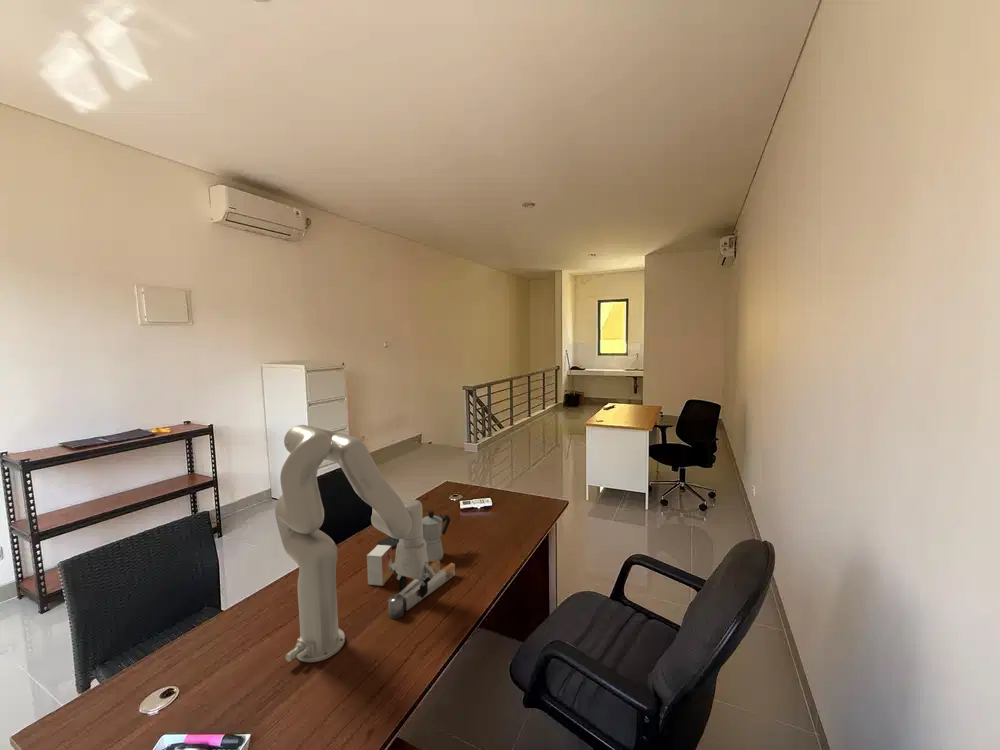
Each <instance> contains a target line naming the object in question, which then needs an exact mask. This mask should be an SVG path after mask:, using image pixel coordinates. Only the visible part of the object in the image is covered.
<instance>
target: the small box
mask: <svg viewBox="0 0 1000 750" xmlns="http://www.w3.org/2000/svg"><path fill="white" fill-rule="evenodd" d="M392 563H393V549H392V546H387V545H378V544H377V545H376V546H375V547H374V548H373V549H372V550H371V551H369V553H367V554H366V564H367V566H366V567H367V584H368V585H370V586H384V585H385V583H386V582H387V581H388V580H389V579H390V578H391V577H392V575H394V570H393V569H392V568H391V564H392Z"/></svg>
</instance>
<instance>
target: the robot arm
mask: <svg viewBox="0 0 1000 750" xmlns="http://www.w3.org/2000/svg"><path fill="white" fill-rule="evenodd" d="M283 443H284V447H285V450H287V452H288V453H289V455H288V456H287V458H286V460H285V462H283V465H282V467H281V471H280V476H279V477H280V487H281V493H282V494H281V495H279V498H278V499H277V501H276V504H275V508H274V514H275V520H276V523H277V529H278V532H279V535H280V538H281V542H282V546H283V550H284V551H285V553H286V554H287V555H288V557H290V558H291V559H292V560H293V561H294V562H295V564H297V565H298V569H299V570H298V577H297V602H298V603H297V604H298V616H299V617H298V618H299V619H298V620H299V632H300V633H299V634H300V636H299V637H298V638H297V640H296V644H295V647H294V648H293V649H291V650H290V651H289V652H288V653H285V656H284V657H285V661H287V662H292V660H293V659H295V658H297V660H299V661H300V662H304V663H317V662H321V661H324V660H326V659H329V658H331V657H333V656H334V655H336V654H337V653H338V652H339V651H340V650H341V649H342V647H344V644H345V641H346V634H345V632H344V631H343V630H342V629H341V628H339V619H338V618H339V617H338V599H337V580H336V579H337V578H336V571H337V570H336V568H337V561H338V548H337V544H336V542H335V541H334V540H333V538H331V537H330V536H329V535H328V534H326V532H324V531H322V530H320V528H321V526H322V525H323V523H324V520H325V508H324V505H323V501H322V497H321V492H320V489H319V483H318V477H317V476H318V471H319V468H320V466H321V464H322V463H323V462H324V461H330V462H333V463H336V464H338V465H339V466H340V469H341V470H342V472H343V473H344V475H345V477H346V479H347V480H348V482H349V484H350V485H351V487H352V489H353V491H354V492H355V494H357V496H358V497H359V498H361V500H362V501H363V502H365V504H367V505H369V506H370V507H371V508H372V509H373V510H374V511H373V512H372V514H371V516H370V522H371V524H372V526H373V527H374V528H375V529H376V530H378V531H379V532H381V533H383V534H385V535H387V536H389V537H392V538H394V539H399V543H398V544H397V547H396V548H395V558H394V562H392V564H391V568H392V570H393V574H394V575H395V576H396V579H397V581H398V590H399V591H398V593H400V592H401V591H402V590H403V589H404V588H405V587H406V586H408V584H407V578H409V579H413V580H414V579H419V580H420V583H421V585H420V597H421V598H423V597H424V596H425V595H426V594H427V592H428V582H429V581H430V580H431V579H432V578H433V576H434V575H435V572H434V571H433V570H432V569H431V568H430V567H429V566H430V565H429V562H428V556H427V550H426V546H425V543H423V541H424V539H423V518H424V517H423V504H422V502H421V501H420V500H417V499H406V500H405V499H404V500H402V499H401V498H400V496H399V494H397V493H396V491H395V490H394V488H392V487H391V485H390V484H389V482H387V480H386V479H385V478H384V476H383V475H382V473H381V471H380V470H379V468H378V466H377V464H376V463H375V461H374V458H373V456H372V454H371V453H370V452H369V449H368V447H367V446H366V444H365V443H364V441H362V439H360V438H358V437H356V436H352V435H349V434H346V433H341V432H336V431H331V430H327V429H323V428H318V427H314V426H310V425H306V424H299V425H294V426H292V427H291V428H290V429H289V430H288V431H287V432H286V433H285V436H284V439H283ZM426 573H428V574H429V576H427V574H426ZM423 577H424V579H425V580H424V579H423ZM423 599H424V598H423Z"/></svg>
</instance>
